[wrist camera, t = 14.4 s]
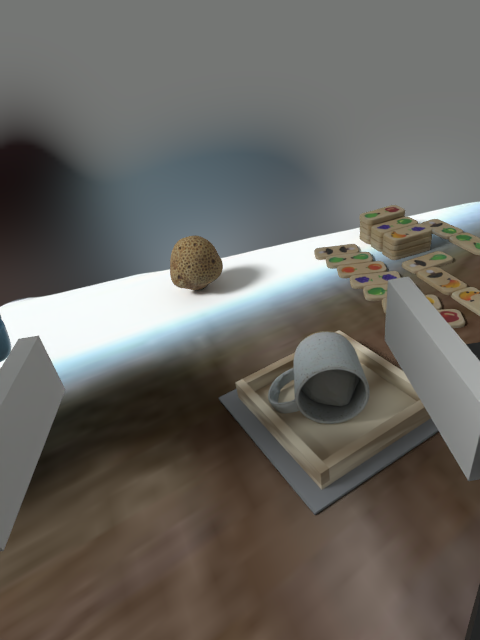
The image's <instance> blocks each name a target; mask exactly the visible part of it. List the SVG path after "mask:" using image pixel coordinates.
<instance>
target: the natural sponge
mask: <svg viewBox="0 0 480 640" xmlns="http://www.w3.org/2000/svg"><path fill="white" fill-rule="evenodd" d="M222 268H223V265H222V261H221V259H220V257H219V255H218V253H217V251H216V249H215V247H214V246H213V245H212V244H211V243H210V242H209V241H208V240H206V239H204V238H202V237H199V236H189V237H186V238H183V239H181V240H179V241H178V242H177V244H176V245H175V246H174V248H173V251H172V254H171V261H170V275H171V280H172V282H173V283H174V285H176V286H178V287H180V288H186V289H191V290H200V289H203V288H205V287H206V286H207V285H208V284H209V283H211V282H213V281H214V280H216V279H217V278H218V277H219V276H220V274H221V272H222Z"/></svg>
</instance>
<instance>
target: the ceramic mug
mask: <svg viewBox="0 0 480 640" xmlns="http://www.w3.org/2000/svg"><path fill="white" fill-rule="evenodd" d="M292 380H294V388H295V390H294V393H295V399H294V400H292V401H289V402H282V403H278V397H279V394H280V390H281V389H282V388H283V387H284V386H285V385H286V384H288V383H289V382H291V381H292ZM369 394H370V392H369V384H368V382H367V379H366V377H365V374H364V371H363V368H362V366H361V364H360V361H359V358H358V355H357V353H356V351H355V349H354V347H353V346H352V344H351V343H350V342H349V341H348V340H347V339H346V338H345V337H344V336H342V335H341V334H338V333H335V332H329V331H322V332H316V333H313V334H311V335H309V336H308V337H306V338H305V339H303V340H302V341H301V343H300V344H299V345H298V347H297V349H296V352H295V356H294V368H292V369H289V370H288V371H286V372H284V373H282V374H281V375H280V376H278V377H277V378H276V379H275V380H274V382H273V383H272V385H271V386H270V389H269V392H268V399H269V402H270V404H271V405H272V406H273V407H274V408H275V410H276V411H278V412H280V413H284V414H288V413H293V412H297V411H300V412H301V413H302V414H303V415H304V416H305V417H307V418H308V419H310V420H312V421H315V422H318V423H324V424H335V423H342V422H345V421H348V420H350V419H352V418H354V417H355V416H357V415H358V414H359V413H360V412H362V410H363V409H364V408H365V406H366V404H367V402H368V400H369Z"/></svg>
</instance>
